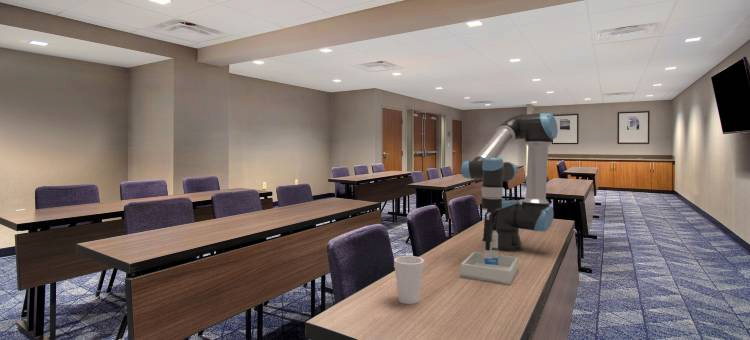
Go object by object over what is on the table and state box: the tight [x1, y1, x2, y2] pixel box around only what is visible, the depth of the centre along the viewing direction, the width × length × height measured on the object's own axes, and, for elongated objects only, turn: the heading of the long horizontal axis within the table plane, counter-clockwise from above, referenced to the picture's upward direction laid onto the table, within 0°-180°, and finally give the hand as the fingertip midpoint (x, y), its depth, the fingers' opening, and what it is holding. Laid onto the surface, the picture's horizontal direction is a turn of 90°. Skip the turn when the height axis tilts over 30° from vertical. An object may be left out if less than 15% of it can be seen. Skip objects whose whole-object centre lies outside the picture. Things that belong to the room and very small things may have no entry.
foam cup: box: [393, 255, 425, 305], centre depth 125 cm, size 10×9×13 cm
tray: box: [459, 251, 519, 286], centre depth 152 cm, size 20×18×5 cm
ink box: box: [483, 230, 499, 265], centre depth 152 cm, size 9×5×12 cm, turn 168°
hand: (490, 255), depth 152 cm, fingers closed on ink box, 9 cm apart
